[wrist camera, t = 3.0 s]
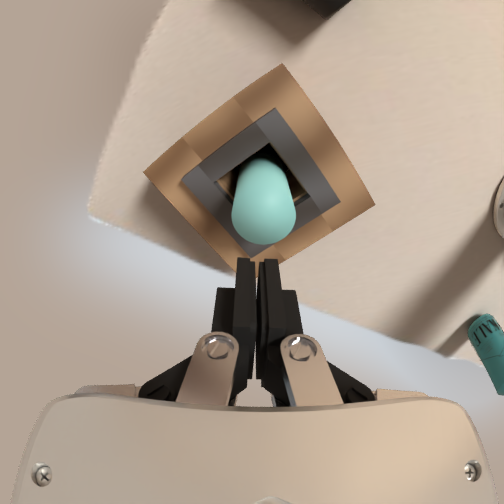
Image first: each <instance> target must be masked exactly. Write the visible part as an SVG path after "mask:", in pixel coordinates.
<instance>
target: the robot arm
mask: <svg viewBox="0 0 504 504" xmlns="http://www.w3.org/2000/svg"><path fill="white" fill-rule="evenodd" d="M493 217H494V224H495V228H496V230H497V232H498V233H499V234H500V235H501V236H502V237H503V238H504V179H503V181H502V183H501V185H500V187H499V189H498V192H497V195H496V199H495V204H494V214H493ZM255 341H256V379H261V387H264V388H265V389H266V390H267V391H269V392H270V393H271V400H272V404H273V407H240V406H236V401H237V394H239V393H240V392H241V391H243V390H244V389H245V388H246V387H247V379H252V372H253V363H254V351H255ZM11 504H499V503H498V498H497V493H496V488H495V484H494V480H493V477H492V473H491V469H490V466H489V463H488V459H487V456H486V453H485V450H484V447H483V444H482V442H481V439H480V437H479V434H478V432H477V430H476V427H475V425H474V423H473V422H472V420H471V418H470V416H469V415H468V413H467V412H466V410H465V409H464V408H463V407H462V406H461V405H459V404H458V403H456V402H453V401H451V400H447V399H443V398H438V397H429V396H427V395H426V394H424V393H421V392H413V391H398V390H385V389H377V390H376V391H371V390H370V389H369V388H368V387H367V386H366V385H364V384H362V383H361V382H359V381H358V380H356V379H354V378H353V377H351V376H349V375H348V374H347V373H345V372H343V371H342V370H340V369H339V368H337V367H336V366H334V365H332V364H331V363H329V362H328V361H326V358H325V356H324V353H323V351H322V349H321V346H320V345H319V343H318V342H317V341H316V340H315V339H314V338H312V337H310V336H308V335H304V334H303V329H302V323H301V317H300V312H299V307H298V301H297V295H296V291H295V290H282V288H281V280H280V272H279V265H278V259H267V258H265V259H264V262H259V270H258V283H257V295H256V272H255V261H250V258H242V257H237V269H236V284H235V288H219V287H218V288H217V294H216V301H215V308H214V316H213V324H212V331H211V333H208V334H206V335H204V336H203V337H201V338H200V340H199V341H198V343H197V345H196V348H195V350H194V353H193V355H192V356H190V357H188V358H187V359H185V360H183V361H182V362H180V363H179V364H177V365H175V366H173V367H172V368H170V369H168V370H167V371H165V372H163V373H162V374H160V375H158V376H157V377H155V378H153V379H151V380H150V381H148V382H146V383H145V384H144V385H143V386H141V387H135V385H134V384H129V385H97V386H96V385H95V386H84V387H81V388H80V389H78V390H77V391H76V392H75V393H74V394H70V395H65V396H62V397H59V398H56V399H54V400H52V401H51V402H50V403H48V404H47V405H46V406H45V408H44V409H43V411H42V412H41V413H40V415H39V417H38V419H37V420H36V422H35V424H34V427H33V429H32V431H31V433H30V436H29V438H28V441H27V444H26V447H25V449H24V452H23V455H22V459H21V462H20V466H19V469H18V473H17V477H16V481H15V485H14V489H13V493H12V498H11Z"/></svg>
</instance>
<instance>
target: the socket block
mask: <svg viewBox="0 0 504 504" xmlns="http://www.w3.org/2000/svg"><path fill="white" fill-rule="evenodd" d="M268 143H270V144H271V146H272V147H273V148H274V150H275V151H276V152H277V153H278V155H279V156H280V157H281V159H282V160H283V161H284V163H285V164H286V166H287V167H288V168H289V170H287V171H286V172H285V175H286V179H287V182H288V185H289V189H290V192H291V196H292V199H293V203H294V207H295V211H296V220H295V224H294V226H293V228H292V230H291V231H290V233H289V234H288V235H287V236H286V237H285V238H283V239H282V240H280V241H278V242H275V243H272V244H265V245H262V244H255V243H252V242H249V241H247V240H245V239H244V238H243V237H241V236H240V235H239V234H238V232H237V231H236V230H235V228H234V226H233V223H232V208H233V203H234V197H235V192H236V187H237V181H238V176H239V170H238V168H237V167H236V166H237V165H239V164H240V163H241V162H243V161H244V160H245V159H247V158H248V157H250V156H251V155H252V154H254V153H255V152H257V151H258V150H259V149H261V148H262V147H264V146H265V145H267V144H268ZM143 173H144V174H145V175H146V176H147V177H148V178H149V180H150V181H151V182H152V183H153V184H154V185H155V186H156V187H157V188H158V189H159V191H160V192H161V193H162V194H163V195H164V196H165V197H166V198H167V199H168V201H169V202H170V203H171V204H172V205H173V206H174V207H175V208H176V209H177V210H178V211H179V213H180V214H181V215H182V216H183V217H184V218H185V219H186V220H187V221H188V222H189V223H190V224H191V226H192V227H193V228H194V229H195V230H196V231H197V232H198V233H199V234H200V235H201V236H202V237H203V238H204V240H205V241H206V242H207V243H208V244H209V245H210V246H211V247H212V248H213V249H214V250H215V251H216V252H217V253H218V254H219V256H220V257H221V258H222V259H223V260H224V261H225V262H226V263H227V264H228V265H229V266H230V267H231V268H232V269H233V270H234V271H235V272H236V269H237V257H242V258H250V261H255V272H256V278H257V277H258V270H259V262H264V259H265V258H267V259H278V265H279V264H280V263H282V262H284V261H285V260H287V259H289V258H290V257H292V256H293V255H295V254H297V253H298V252H300V251H302V250H303V249H305V248H307V247H308V246H310V245H311V244H313V243H315V242H316V241H318V240H320V239H321V238H323V237H325V236H326V235H328V234H329V233H331V232H333V231H334V230H336V229H337V228H339V227H341V226H342V225H344V224H345V223H347V222H349V221H350V220H352V219H353V218H355V217H357V216H358V215H360V214H361V213H363V212H365V211H366V210H368V209H369V208H371V207H373V206H374V205H375V203H374V201H373V199H372V198H371V196H370V194H369V192H368V190H367V189H366V187H365V185H364V183H363V182H362V180H361V178H360V176H359V175H358V173H357V171H356V170H355V168H354V166H353V165H352V163H351V161H350V160H349V158H348V156H347V155H346V153H345V152H344V150H343V148H342V147H341V145H340V144H339V142H338V140H337V139H336V137H335V136H334V134H333V133H332V131H331V130H330V128H329V127H328V125H327V124H326V122H325V121H324V119H323V118H322V116H321V115H320V113H319V112H318V111H317V109H316V108H315V106H314V105H313V103H312V102H311V101H310V99H309V98H308V96H307V95H306V94H305V92H304V91H303V90H302V88H301V87H300V86H299V84H298V83H297V82H296V80H295V79H294V78H293V76H292V75H291V74H290V72H289V71H288V70H287V69H286V67H285V66H284V65H283V63H282V64H280V65H279V66H277V67H276V68H274V69H273V70H271V71H270V72H268V73H267V74H265V75H264V76H262V77H261V78H259V79H258V80H256V81H255V82H253V83H252V84H250V85H249V86H248V87H246V88H245V89H243V90H242V91H241V92H239V93H238V94H236V95H235V96H234V97H232V98H231V99H230V100H228V101H227V102H226V103H224V104H223V105H222V106H220V107H219V108H218V109H216V110H215V111H214V112H213V113H211V114H210V115H209V116H208V117H206V118H205V119H204V120H202V121H201V122H200V123H199V124H198V125H196V126H195V127H194V128H193V129H191V130H190V131H189V132H188V133H187V134H185V135H184V136H183V137H182V138H181V139H179V140H178V141H177V142H176V143H175V144H174V145H173V146H171V147H170V148H169V149H168V150H167V151H166V152H165V153H163V154H162V155H161V156H160V157H159V158H158V159H157V160H156V161H155V162H153V163H152V164H151V165H150V166H149V167H148V168H147V169H146V170H145V171H144V172H143Z"/></svg>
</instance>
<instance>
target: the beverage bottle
mask: <svg viewBox="0 0 504 504" xmlns="http://www.w3.org/2000/svg"><path fill="white" fill-rule="evenodd" d="M499 326H500V325H499V324H498V323H497V322H496V321H495V319H494V316H491V315H490V314H485V315H482V316H480V317H479V318H478V319H476V320H475V321H474V322H473V323H472V325H471V326H470V327H469V330H468V338H469V339H470V341H471V345H472V346H474V348H475V350H476V352H477V353H476V354H477V355H478V356H479V357H480V359H481V360H480V361H482V362H483V364H484V366H485V368H486V370H487V372H488V374H489V376H490V378H491V380H492V382H493V384H494V386H495V389H496V391H497V393H498V395H504V332H503V330H501V329H502V328H500V327H499Z"/></svg>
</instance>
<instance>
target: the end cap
mask: <svg viewBox="0 0 504 504" xmlns="http://www.w3.org/2000/svg"><path fill="white" fill-rule="evenodd" d="M303 1H304V2H305V3H306V4H308V5H309V6H310V7H311V8H312V9H314V10H315V11H316V12H317V13H318V14H320V15H321V16H322V17H323V18H324V19H329V18H330V17H331V16H333V15H334V14H335V13H336V12H337V11H339V10H340V9H341V8H342V7H344V6H345V5H346V4H347V3H349V2H350V1H351V0H303Z"/></svg>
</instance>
